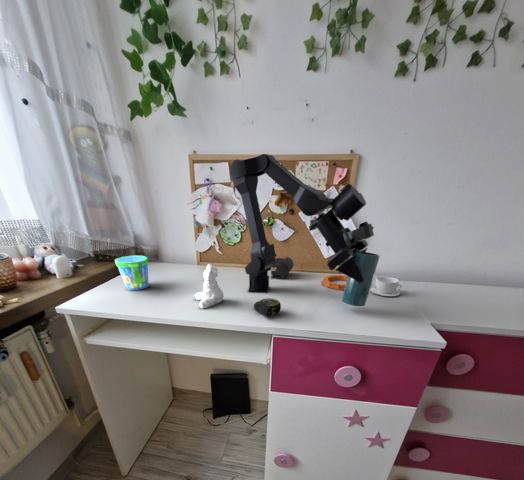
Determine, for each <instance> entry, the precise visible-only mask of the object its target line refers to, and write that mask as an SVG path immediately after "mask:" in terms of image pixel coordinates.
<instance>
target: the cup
mask: <svg viewBox="0 0 524 480" xmlns="http://www.w3.org/2000/svg"><path fill="white" fill-rule="evenodd" d="M354 255H356V261H355V263H356V265H357V267H358V269H359V271H360V273H361V275H362V277H363V280H364V281H363V282H361V283H359V282H358V281H356V280H354V279H352V278H351V277H349V276H348V277H347V281H345V284H346V285H345V289H344V290H343V293H342V298H341V302H342V303H344V304H346V305H349V306H353V307H365V306H366V304H367V301H368V298H369V294H370V292H371V291H370V289H371V288H372V284H373V280H374V277H375V273H376V272H377V267H378V264H379V260H380V256H381V255H380V254H378V253H374V252H367V251H366V252H360V251H354V253H353V256H354Z"/></svg>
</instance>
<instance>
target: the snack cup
mask: <svg viewBox="0 0 524 480" xmlns="http://www.w3.org/2000/svg"><path fill="white" fill-rule="evenodd" d="M114 263H115V266H116V267H117V268H118V271H119V274H120V276H121V278H122V280H123V283H124V285H125V287H126V288H127V289H128V290H129V291H131V290H133V291H140V290H143V289H147V288H148V287H149V267H148V266H149V258H148V256H145V255H125V256H121V257H117V258H115V259H114Z"/></svg>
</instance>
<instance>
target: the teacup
mask: <svg viewBox="0 0 524 480" xmlns="http://www.w3.org/2000/svg"><path fill="white" fill-rule="evenodd" d="M398 287H399V288H398ZM402 287H403V285H401V284H400V280H399V279H398V278H396V277H391V276H377V277H376V278H375V286H373V287H372V286H371V287H370V291H369V292H371V293H373V294H375V295H379V296H383V297H396V296H397V297H398V296H400V294H401V292H400V290H402ZM397 288H398V289H397Z"/></svg>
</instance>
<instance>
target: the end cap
mask: <svg viewBox="0 0 524 480" xmlns="http://www.w3.org/2000/svg"><path fill="white" fill-rule="evenodd" d="M271 268H273V269H274V268H275V269H274V270H270V276H271V277H270V278H271V279H276V280H282V279H284V278H286V276H287V275H288V274H289V273H290V272H291V271H292V270H293V269H294V261H293V259H292V258H291V257H288V256H286V257H284V258H282V257H277V258H275V263H274V265H273V266H272V267H271Z"/></svg>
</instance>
